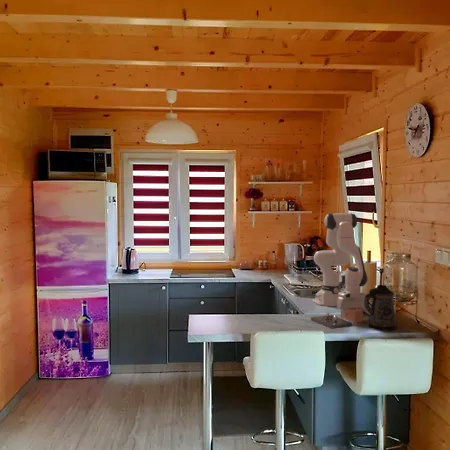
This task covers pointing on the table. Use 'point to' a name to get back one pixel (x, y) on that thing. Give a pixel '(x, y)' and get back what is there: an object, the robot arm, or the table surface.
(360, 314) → the block
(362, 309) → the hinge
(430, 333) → the table surface
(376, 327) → the beer stein
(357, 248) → the robot arm
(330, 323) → the base plate
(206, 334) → the table surface
